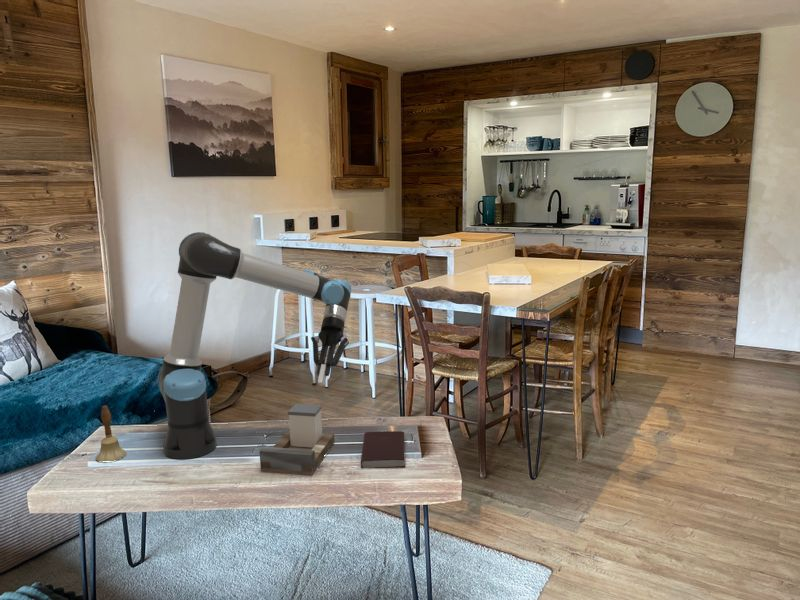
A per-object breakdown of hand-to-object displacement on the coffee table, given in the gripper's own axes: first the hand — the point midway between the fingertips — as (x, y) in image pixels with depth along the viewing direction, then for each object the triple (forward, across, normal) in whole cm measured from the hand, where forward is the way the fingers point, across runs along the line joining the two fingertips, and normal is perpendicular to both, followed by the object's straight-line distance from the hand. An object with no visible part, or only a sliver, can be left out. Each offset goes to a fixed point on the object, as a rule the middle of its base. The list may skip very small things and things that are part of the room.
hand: (320, 384), depth 198 cm
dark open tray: (+25, 0, +5) cm, 26 cm away
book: (+22, -24, 0) cm, 32 cm away
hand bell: (+32, +56, +11) cm, 65 cm away
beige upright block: (+20, 0, +1) cm, 20 cm away
